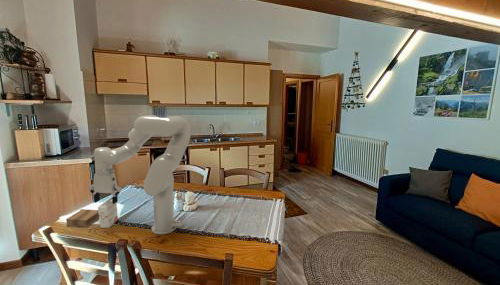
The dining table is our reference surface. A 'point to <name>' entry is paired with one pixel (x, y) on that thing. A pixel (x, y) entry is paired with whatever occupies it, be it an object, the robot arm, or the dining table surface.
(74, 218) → the walnut block
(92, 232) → the dining table surface
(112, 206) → the ink cartridge box
